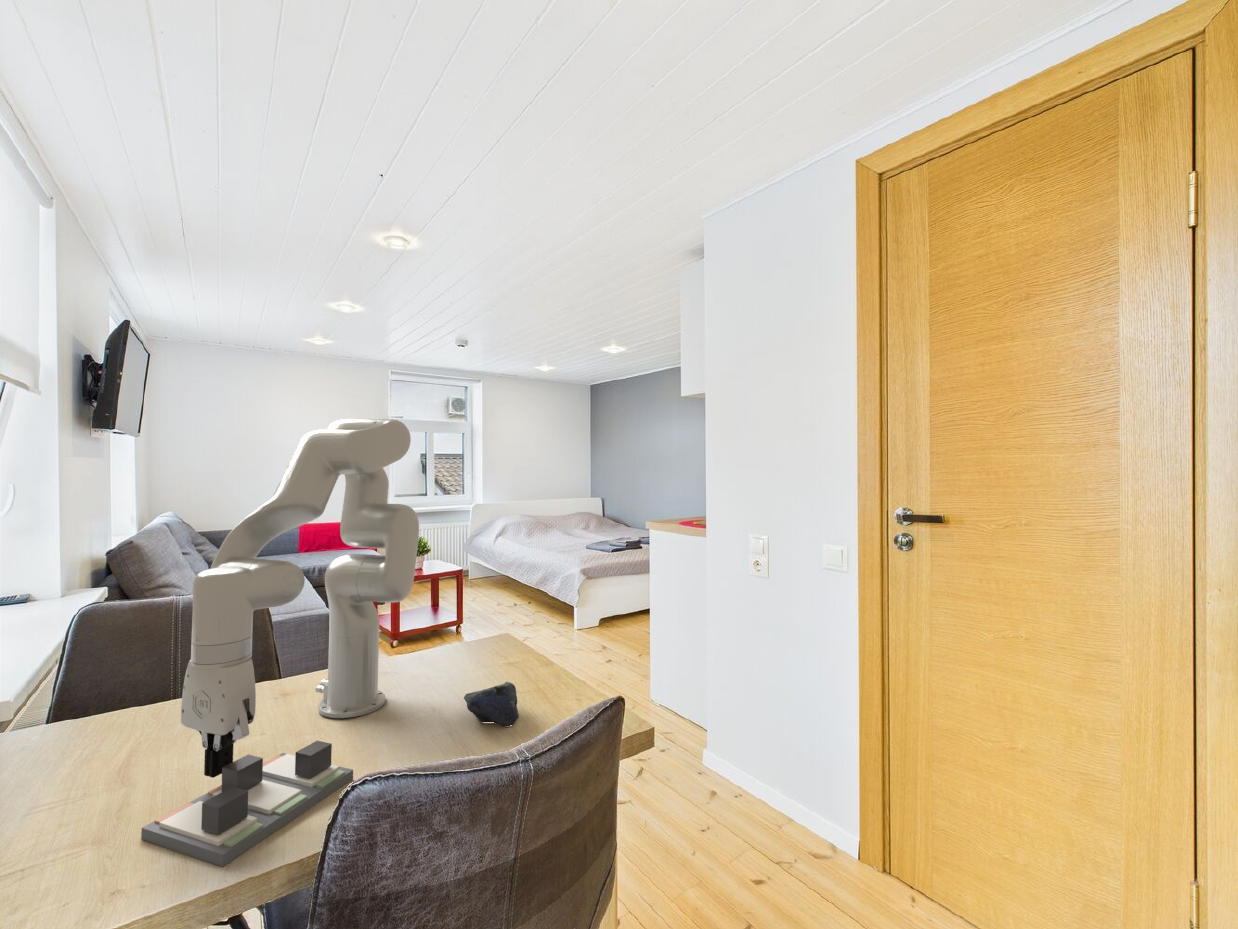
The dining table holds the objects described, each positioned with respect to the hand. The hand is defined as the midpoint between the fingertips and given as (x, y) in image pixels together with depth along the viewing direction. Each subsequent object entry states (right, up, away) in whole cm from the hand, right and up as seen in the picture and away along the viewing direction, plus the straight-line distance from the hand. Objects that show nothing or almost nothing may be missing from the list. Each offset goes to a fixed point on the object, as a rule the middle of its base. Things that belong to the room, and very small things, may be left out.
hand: (218, 772), depth 84 cm
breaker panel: (+7, -4, -3) cm, 9 cm away
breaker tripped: (+5, -1, -2) cm, 5 cm away
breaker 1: (+8, -1, -10) cm, 13 cm away
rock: (+34, -5, +28) cm, 44 cm away
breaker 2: (+13, -2, +3) cm, 13 cm away
